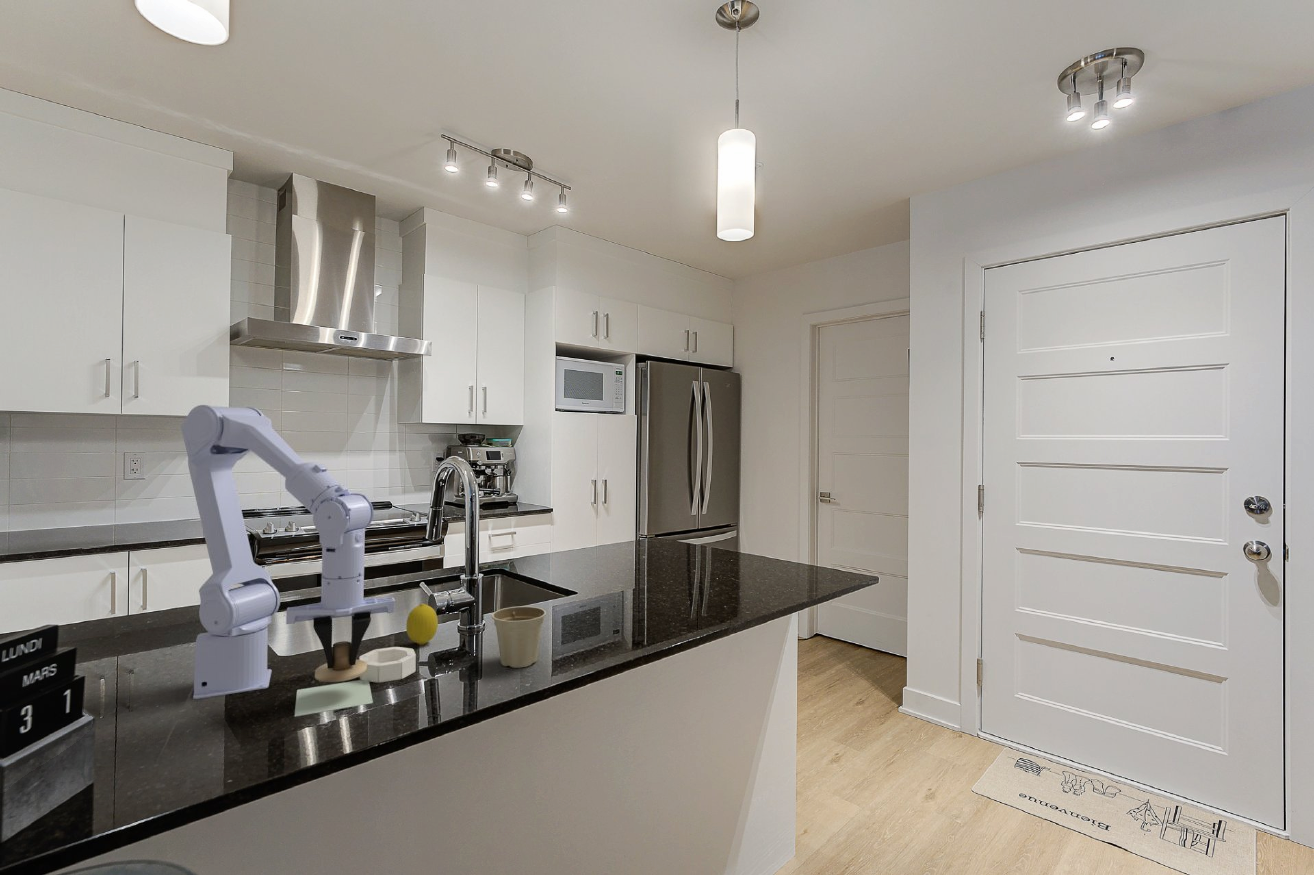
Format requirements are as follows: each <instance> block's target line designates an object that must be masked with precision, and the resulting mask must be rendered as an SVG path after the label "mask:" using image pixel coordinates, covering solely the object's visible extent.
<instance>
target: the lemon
mask: <svg viewBox="0 0 1314 875" xmlns="http://www.w3.org/2000/svg"><path fill="white" fill-rule="evenodd" d="M438 626H439V620H438V616H437V613H436V611H435V610H434V608H433V607H431V606H430V605H428V604H425V602H424V603H420V604H419V605H418V606H416V607H414V608H413V609H412V610H410V612H409V613H408V616H407V620H406V633H407V636H408V638H409V639H410V640H411V641H412V642H414V643H416V644H418V645H419V646H423V645H426V643H428V642H430V641H431V640H432V639H433V638H434V637H435V635H436V633H437V630H438Z"/></svg>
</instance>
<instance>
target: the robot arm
mask: <svg viewBox="0 0 1314 875" xmlns="http://www.w3.org/2000/svg"><path fill="white" fill-rule="evenodd" d="M272 424H273V423H272V419H271V418H269V417H267V416H266V415H264V413H263V412H262V411H261V410H260V409H258V408H256V407H252V406H251V407H236V406H235V407H232V406H228V407H227V406H216V405H215V406H213V405H212V406H211V405H208V404H200V405H197V406H194V407H193V408H192V409H191V410H190V411H189V412H188V414H187V416H186V417H185V419H184V420H183V422H182V424H181V426H180V428H181V433H182V437H183V441H184V445H185V446H184V447H185V450H186V454H187V462H188V463H187V465H188V470H189V475H190V481H191V483H192V488H193V493H194V496H195V501H196V504H197V505H196V506H197V510H198V515H199V519H200V522H201V527H202V531H203V534H204V539H205V544H206V548H207V553H208V557H209V561H210V566H211V570H212V573H211V576H209V577H208V579H207V580H206V581H205V582H204V583H202V585H201V586H200V588H199V589H198V594H199V597H200V599H199V600H200V603H199V604H200V605H199V611H198V614H199V621H200V623H201V625H202V626H203V628H204V629H205V630H206V631H207V632H203V633H202V632H201V633H199V634H198V635H197V636H196V639H195V646H194V658H193V659H194V660H193V662H194V663H193V664H194V666H193V670H194V671H193V673H194V674H193V696H192V698H193V700H194V699H195V700H199V699H205V698H210V697H216V696H217V697H218V696H225V695H230V694H236V693H243V692H251V691H255V690H261V689H262V690H264V689H267V688H269V686H270V680H271V676H272V672H273V671H272V669H271V668H269V669H268V638H269V637H268V633H269V631H268V629H269V626H268V625H270V624H272V617H273V616H274V615H276V614H277V612H278V610H279V608H280V606H281V596H280V593H279V590H278V588H277V587H276V585H275V584H274V583H273V581H272V577H271V575H270V572H269V571H268V570H267V569H265V568H264V567H262V566H260V565H258V564H257V563H255V562H254V557H253V554H252V548H251V545H250V541H249V536H248V534H247V533H248V532H247V529H246V524H245V520H244V516H243V511H242V507H241V502H240V499H239V498H240V497H239V495H238V490H237V486H236V481H235V477H234V472H233V468H234V467H235V465H236V464H237V463H238V461H241V459H243V458H244V457H245V456H246V455H247V454H249V452H252V453H254V454H255V455H256V456H257V457H259V458H260V459H261V460H262V461H263V462H265V464H268V465H269V466H270V468H271V467H272V468H273V469H274V470H275V471H276V472H278V473H279V474H280V475H281V476H283V477H284V478H285V482H284V487H285V489H286V491H287V492H288V493H289V494H290V495H291V496H293V497H294V498H295V499H296V500H297V501H298V502H299V503H300V504H301V505H302V506H303V507H305V508H306V510H308V511H309V512H310V513H311V514H312V515H313V516H312V521H313V525H314V528H315V530H316V531H317V532H318V535H319V544H320V546H321V547H322V548H321V550H322V552H321V596H320V598H321V599H320V600H321V601H320V602H318V603H312V604H311V603H310V604H306V605H299V606H291V607H290V606H289V607H287V608H286V622H285V625H291V624H295V623H299V622H307V621H308V622H309V621H313V626H312V627H313V630H314V632H315V634H316V636H317V637H318V639H319V641H320V643H321V645H322V649H323V651H324V655H325V658H326V659H325V660H326V663H327V668H328V669H329V668H333V619H335V618H337V619H338V618H346V617H351V640H350V643H351V650H350V666H351V665H355V664H356V659H357V657H358V653H359V648H360V646H361V642H362V641H363V638H364V636H365V635H366V632H367V630H368V628H369V626H370V625H371V621H372V617H371V615H374V614H375V615H376V614H383V613H386V614H394V613H395V612H396V610H395V608H396V605H395V604H396V599H395V598H394V597H383V598H382V597H381V598H380V597H379V598H378V597H375V598H372V597H371V598H364V586H365V547H366V546H365V542H366V540H365V539H366V537H365V534H366V529H367V528H368V527H369V526H370V525H371V523H372V521H373V519H374V515H375V514H374V507H373V504H372V502H371V501H370V500H369V499H368V497H367V496H366V494H364V493H360V492H351V491H350V490H349V488H348V487H347V486H346V485H345V484H343V485H342V484H341V483H340V482H339V481H337V479H335V478H334V477H333V476H332V475H331V474H330V473H329V472H328V470H329V468H327V466H325V465H324V464H323V463H320V464H319V463H317V462H309V461H308V462H305V461H304V460H303V459H302V458H301V457H300V456H299V455H298V454H297V453H296V452H295V451H294V450H293V448H292V447H291V446H290V445H289V444H288V443H287V442H286V441H285V440H284V438H282V437H281V436H280V435H279V434H278V432H276V431H275V429H274V428H273V426H272ZM234 585H242V586H238V587H233V586H234ZM231 587H233V588H231Z"/></svg>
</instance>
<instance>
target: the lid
mask: <svg viewBox="0 0 1314 875" xmlns="http://www.w3.org/2000/svg"><path fill="white" fill-rule="evenodd" d="M350 650H351V641H347V640H345V641H343V640H342V641H338V642H335V643H332V653H333V668H329V669H328V668H327V662H326V663H324V664H321V665H320V666H318V667H316V669H315V670H314V678H315V680H317V681H319V682H322V683H323V682H324V683H339V682H345V681H350V680H353V679H358V678H360V676H361V675H363V674H364V673H365V672H366V671H367V663H366V662H365V661H362V660H359V659H357V658H356V664H355V665H351V666H350Z"/></svg>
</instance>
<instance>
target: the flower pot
mask: <svg viewBox="0 0 1314 875" xmlns="http://www.w3.org/2000/svg"><path fill="white" fill-rule="evenodd" d="M546 615H547V612H546V610H544V608H541V607H537V606H530V605H529V606H528V605H527V606H525V605H524V606H523V605H522V606H521V605H520V606H511V607H505V608H500V609H498V610H496V611H494V612H492V613H491V619H492V620H493V623H494V627H495V628H496V634H497V635H496V636H497V642H498V643H497V644H498V651H499V657H500V658H499V659H500V664H501V665H502V666H504V667H507V666H509V667H511V668H514V669H518V668H519V669H520V668H524V667H525V668H526V667H530V666H532V664H533V663H537V660H538V653H539V652H538V651H539V645H540V638H541V631H542V625H543V623H544V618H545V617H546Z"/></svg>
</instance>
